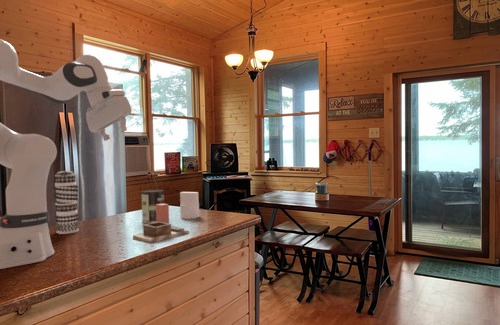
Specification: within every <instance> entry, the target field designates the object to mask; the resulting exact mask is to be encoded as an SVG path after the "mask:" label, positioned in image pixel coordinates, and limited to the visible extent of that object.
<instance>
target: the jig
mask: <svg viewBox="0 0 500 325" xmlns="http://www.w3.org/2000/svg"><path fill="white" fill-rule="evenodd" d="M142 229H143V232H142V233H138V234H133V235H132V239H134V240H138V241H142V242H146V243H151V244H152V243H155V242H160V241H163V240H168V239H171V238H176V237H179V236H182V235H187V234H190V230H189V229H185V228H184V227H180V226H174V225H172V223H170V222H169V223H163V222H155V223H144V224H143V227H142Z"/></svg>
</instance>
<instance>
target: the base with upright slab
mask: <svg viewBox="0 0 500 325" xmlns="http://www.w3.org/2000/svg"><path fill="white" fill-rule="evenodd" d="M179 202H180V206H179V211H180V212H179V213H180V215H179V216H180V218H181V219H184V220H185V219H186V220H191V218H192V219H197V217H198V218H199V217H200V202H199V192H198V191H181V192H179Z"/></svg>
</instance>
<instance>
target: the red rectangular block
mask: <svg viewBox="0 0 500 325" xmlns="http://www.w3.org/2000/svg"><path fill="white" fill-rule="evenodd" d="M156 222H163V223H169V224H170V208H169V204H168V203H164V204H156Z"/></svg>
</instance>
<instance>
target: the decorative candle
mask: <svg viewBox="0 0 500 325" xmlns="http://www.w3.org/2000/svg"><path fill="white" fill-rule="evenodd" d="M54 180H55V181H54V182H55V183H54V186H52V188H53V190H54V191H53V194H54V195H53V198H55V200H54V205H55V206H56V211H55V212H56V213H55V214H56V215H55V218H56V219H55V222H56V223H55V226H56V228H55V230H56V232H55V233H56V234H57V233H58V234H59V235H66V234H73V233H77V232H79V231H80V229H79V224H80V222H79V221H78V220H79V217H78V216H79V213H78V208H77V204H78V200H79V198H78V197H79V195H78V194H77V192H79V189H78V188H79V186H78V185H77V180H76V173H74V171H72V170H63V171H62V170H61V171H57V172H56V174H55V175H54Z"/></svg>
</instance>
